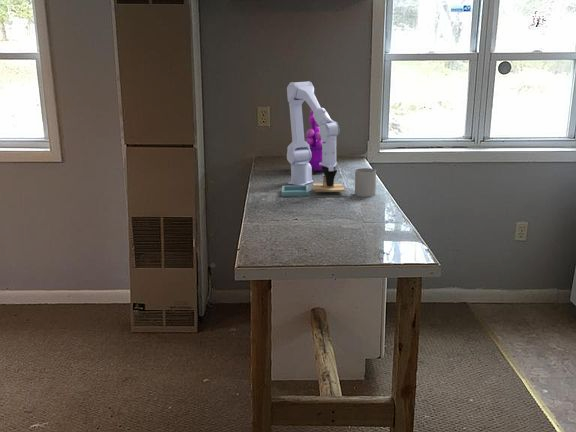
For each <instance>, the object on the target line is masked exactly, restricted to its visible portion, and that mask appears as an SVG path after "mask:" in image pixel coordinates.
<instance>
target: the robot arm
mask: <svg viewBox="0 0 576 432" xmlns="http://www.w3.org/2000/svg"><path fill="white" fill-rule="evenodd" d="M286 92H287V93H286V94H287V95H286V96H287V102H288V105H289V114H290V115H289V116H290V117H289V118H290V127H291V129H290V130H291V140H292V141H291V143H289V145H288V146H287V151H286V152H287V153H286V159H287V161H288V163H289V164H290V174H291V175H290V176H291V177H290V181H289V182H287V185H292V186H307V185H308V184H312V183H314V180H313V177H312V176H313V171H312V167H311V165H310V164H309V161H310V160H311V157H312V154H311V151H310V146H309V144H308V143H307V142H306V140H305V132H304V119H303V107H302V105H303V103H304V102H306V104H307V105H308V106H309V108H310V110H311V109H312V110H313V112H314V113H313V117H314V119H315V121H316V122H317V125H318V126H317V127H320V129H319V133H320V136H321V141H322V163H319V165H323V167H322V169H323V170H322V171H323V176H326V183H327V186H333V182H334V183H335V177H336V174H337V172H338V169H336V166H337V165H338V162H337V136H338V135H339V134H340V131H341V129H340V125H339V123H338V121H334V119H332V118H331V117H330V115H329V113H328V111H327V110H326V109H325V108H324V107H321V105H320V103H319V101H318V99H317V97H316V95H315V87H314V85H313V83H312V82H311V81H310V80H308V81H298V82H297V81H296V82H293V81H291V82H290V83H289V84H288V85H287V87H286ZM300 147H302V148H300ZM297 148H299V149H297Z"/></svg>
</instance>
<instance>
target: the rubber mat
mask: <svg viewBox="0 0 576 432" xmlns="http://www.w3.org/2000/svg"><path fill="white" fill-rule="evenodd" d="M344 189H345V191H344V192H315V190H314V188H313V187H312V188H311V192H312V198H348V194H347V190H346V187H344Z"/></svg>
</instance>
